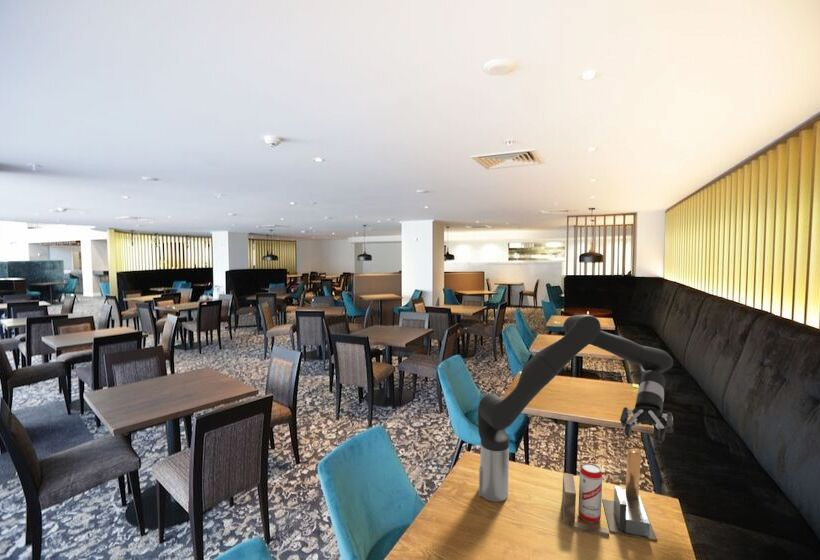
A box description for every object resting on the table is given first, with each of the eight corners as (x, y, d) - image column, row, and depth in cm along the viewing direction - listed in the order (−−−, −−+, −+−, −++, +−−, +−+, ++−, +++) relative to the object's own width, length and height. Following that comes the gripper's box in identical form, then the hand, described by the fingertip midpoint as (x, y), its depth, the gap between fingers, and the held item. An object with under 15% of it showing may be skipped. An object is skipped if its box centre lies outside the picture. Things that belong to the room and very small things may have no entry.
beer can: (602, 525, 119) (605, 474, 117) (580, 523, 120) (582, 472, 118) (597, 511, 125) (599, 463, 123) (576, 509, 126) (578, 461, 124)
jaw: (619, 531, 115) (622, 471, 113) (610, 499, 129) (613, 446, 128) (649, 537, 113) (652, 476, 111) (636, 503, 127) (639, 449, 125)
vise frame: (564, 527, 118) (565, 495, 117) (561, 493, 134) (562, 464, 133) (659, 546, 110) (661, 512, 109) (643, 507, 127) (645, 477, 126)
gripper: (623, 388, 136) (615, 427, 126) (673, 392, 127) (667, 434, 116) (629, 403, 139) (621, 442, 129) (677, 408, 129) (673, 451, 119)
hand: (643, 438), depth 123 cm, fingers open, 8 cm apart
